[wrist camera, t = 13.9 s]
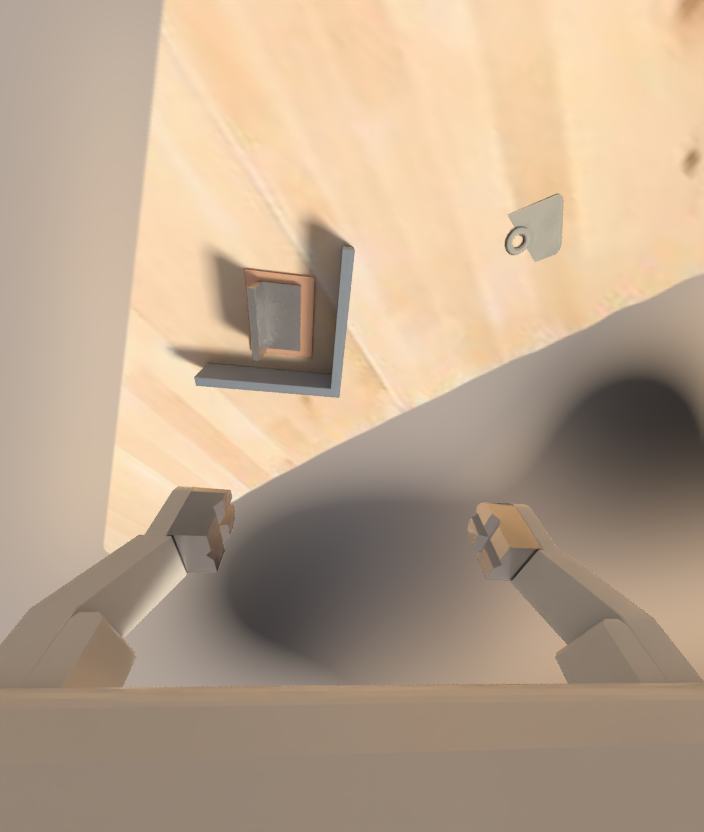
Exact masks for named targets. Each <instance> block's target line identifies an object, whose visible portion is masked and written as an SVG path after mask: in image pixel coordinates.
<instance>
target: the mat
mask: <svg viewBox="0 0 704 832" xmlns="http://www.w3.org/2000/svg"><path fill="white" fill-rule="evenodd" d="M245 279H246V290H247V287H249V286H250V285H252V284H253V283H255V282H256V281H258V280H262V281H271V282H280V283H288V284H297V285H301V349H300V351H292V350H281V349H271V348H267V350H266V352H265V353H270V354H280V355H291V356H301V357H312V333H313V306H314V280H315V277H307V276H298V275H290V274H282V273H274V272H266V271H257V270H249V269H245ZM247 302H248V299H247ZM248 314H249V310H248ZM249 325H250V321H249ZM250 337H251V333H250ZM251 348H252V344H251Z"/></svg>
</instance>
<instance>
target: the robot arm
mask: <svg viewBox="0 0 704 832" xmlns="http://www.w3.org/2000/svg"><path fill="white" fill-rule="evenodd" d="M231 499H232V494H231V490H224V489H211V488H198V487H181V486H178V487H177V488H175V489H174V490H173V491H172V493H171V494H170V496H169V497H168V499H167V501H166V502H165V504H164V505H163V507H162V508H161V510H160V512H159V513H158V515H157V516H156V518H155V519H154V521H153V523H152V524H151V526H150V527H149V529H148V530H147V532H146V534H145V535H138V536H137V537H135V538H134V539H132V540H131V541H129V542H128V543H126V544H125V545H123V546H122V547H120V548H119V549H117V550H116V551H114V552H113V553H111V554H110V555H109V556H107V557H106V558H104V559H103V560H101V561H100V562H98V563H97V564H95V565H94V566H92V567H91V568H89V569H88V570H86V571H85V572H84V573H82V574H80V575H79V576H77V577H76V578H74V579H73V580H72V581H70V582H69V583H67V584H66V585H64V586H63V587H61V588H60V589H58V590H57V591H55V592H54V593H52V594H51V595H49V596H48V597H46V598H45V599H43V600H42V601H41V602H39V603H38V604H36V605H35V606H33V607H32V608H30V609H29V610H28V612H27V613H26V614H25V615H24V616H23V618H22V619H21V620H20V621H19V623H18V624H17V625H16V626H15V628H14V629H13V630H12V631H11V633H10V634H9V635H8V636H7V637H6V639H5V640H4V641H3V642H2V643H1V645H0V832H704V681H703V680H702V679H701V677H700V676H699V675H698V673H697V672H696V671H695V670H694V668H693V667H692V666H691V665H690V663H689V662H688V661H687V659H686V658H685V657H684V656H683V655H682V653H681V652H680V651H679V649H678V648H677V647H676V646H675V644H674V643H673V642H672V641H671V639H670V638H669V637H668V635H667V634H666V633H665V632H664V630H663V629H662V628H661V627H660V625H659V624H658V623H657V622H656V620H655V619H654V618H653V617H651V616H650V615H649V614H647V613H646V612H645V611H643V610H642V609H641V608H639V607H638V606H637V605H635V604H634V603H633V602H631V601H630V600H629V599H627V598H626V597H625V596H623V595H622V594H621V593H619V592H618V591H617V590H615V589H614V588H613V587H611V586H610V585H609V584H608V583H606V582H605V581H603V580H602V579H601V578H599V577H598V576H597V575H596V574H594V573H593V572H591V571H590V570H589V569H587V568H586V567H584V565H582V564H581V563H580V562H578V561H577V560H575V559H574V558H573V557H571V556H570V555H569V554H568V553H566V552H565V551H562V550H558V548H557V546H556V545H555V543H554V542H553V540H552V539H551V537H550V536H549V535H548V533H547V532H546V530H545V529H544V527H543V526H542V524H541V523H540V521H539V520H538V518H537V517H536V515H535V514H534V512H533V511H532V509H531V508H530V507H529V506H527V505H524V504H509V503H485V502H484V503H481V504H479V505H478V507H477V509H476V510H477V512H478V514H477V515H475V516H474V517H472V518H471V520H470V522H469V524H468V535H469V540H470V542H471V545H472V546H473V547H474V548H475V549H476V550H477V551H478V552H479V555H478V559H477V560H478V562H479V564H480V566H481V569H482V572H483V574H484V577H485V579H486V580H504V581H511V583H512V584H513V585H514V586H515V588H516V589H517V590H518V591H519V592H520V593H521V594H522V595H523V596H524V597H525V599H527V601H528V602H529V603H530V604H531V605H532V606H533V607H534V608H535V609H536V610H537V612H538V613H539V614H540V615H541V616H542V617H543V618H544V619H545V620H546V622H548V624H549V625H550V626H551V627H552V628H553V629H554V630H555V631H556V633H557V634H558V635H559V636H560V637H561V638H562V639H563V640H564V641H565V642H566V644H567V646H565V647H564V648H562V649H561V650H559V651H558V652H557V654H556V657H555V658H556V660H557V662H558V664H559V666H560V668H561V670H562V672H563V674H564V676H565V678H566V680H567V682H568V684H465V685H464V684H463V685H462V684H456V685H455V684H452V685H343V686H342V685H341V686H340V685H338V686H229V687H228V686H223V687H222V686H219V687H123V685H124V683H125V681H126V679H127V676H128V674H129V672H130V670H131V668H132V665H133V663H134V661H135V659H136V655H135V652H134V651H133V649H132V648H131V647H130V646H129V645H128V644H127V643H126V641H125V640H124V639H123V638H124V637H125V636H126V635H127V634H128V633H129V632H130V631H131V630H132V629H133V628H134V627H135V626H136V625H137V624H138V623H139V622H140V621H141V620H142V619H143V618H144V617H145V616H146V615H147V614H148V613H149V612H150V611H151V610H152V609H153V608H154V607H155V606H156V605H157V604H158V603H159V602H160V601H161V600H162V599H163V598H164V597H165V596H166V595H167V594H168V593H169V592H170V591H171V590H172V589H173V588H174V587H175V586H176V585H177V584H178V583H179V582H180V581H181V580H182V579H183V578H184V577H185V576H186V575H187V574H186V573H191V572H193V573H194V572H195V573H201V572H203V573H204V572H206V573H207V572H208V573H210V572H212V573H214V572H215V573H216V572H217V571H218V569H219V566H220V563H221V560H222V558H223V555H224V552H225V548H224V544H223V542H225V541H226V540H227V539H228V538H229V537H230V535H231V532H232V529H233V525H234V520H235V510H234V506H233V505H231V504H230V502H231Z"/></svg>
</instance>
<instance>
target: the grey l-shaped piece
mask: <svg viewBox="0 0 704 832" xmlns="http://www.w3.org/2000/svg"><path fill="white" fill-rule="evenodd" d="M354 252H355V250H354V248H353V247H349V246H343V248H342V260H341V272H340V284H339V296H338V308H337V320H336V332H335V344H334V356H333V368H332V374H323V373H312V372H301V371H290V370H279V369H269V368H258V367H247V366H236V365H225V364H214V363H207V364H206V366H205V367H204V368H203V369H202V370H201V371H200V372H199V373H198V374H197V375H196V376H195V377H194V378H195V383H196V386H206V387H218V388H230V389H242V390H254V391H266V392H278V393H289V394H301V395H313V396H325V397H337V398H339V396H340V386H341V377H342V367H343V357H344V348H345V338H346V329H347V319H348V310H349V300H350V291H351V281H352V271H353V262H354Z"/></svg>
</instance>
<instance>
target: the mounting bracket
mask: <svg viewBox="0 0 704 832" xmlns="http://www.w3.org/2000/svg"><path fill="white" fill-rule="evenodd" d="M508 217H509V218H510V220H511V222H512V224H513V225H514V227H515V229H514V230H512V231H511V233H510V234H509V235H508V237H507V239H506V243H505V248H506V251H507V252H508V253H509V254H511V255H518V254H520V253H521V252H523V251H524V250H525V249H526V248H527V249H528V251H529V253H530V254H531V256H532V258H533V259H534V261H535V262H536V261H539V260H542V259H544V258H547V257H550V256H552V255H555V254H556V253H557V252H558V251H559V250H560V247H561V243H562V223H563V197H562V196H561V195H560V194H556V195H554V196H552V197H549V198H547V199H544V200H542V201H539V202H537V203H535V204H532V205H530V206H527V207H525V208H522V209H520V210H518V211H515V212H513V213H510V214H508ZM518 234H519V235H520V236H522V237H523V244H522V245H521V246H520V247H519V248H514V247H513V246H512V241H513V239H514V237H515V236H517V235H518Z"/></svg>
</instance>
